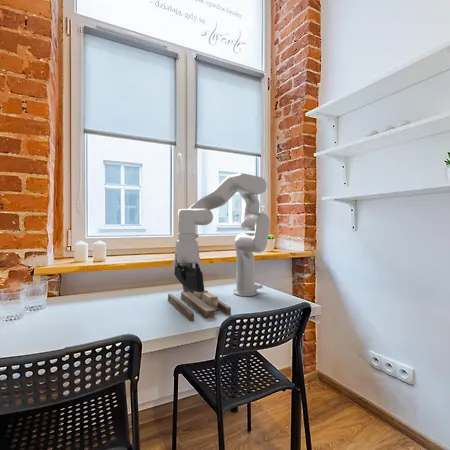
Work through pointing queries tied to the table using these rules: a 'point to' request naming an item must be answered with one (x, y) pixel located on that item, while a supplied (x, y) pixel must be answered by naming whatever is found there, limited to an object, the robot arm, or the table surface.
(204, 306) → the rack
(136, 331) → the table surface
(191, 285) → the magazine
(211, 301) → the offcut
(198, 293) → the offcut
